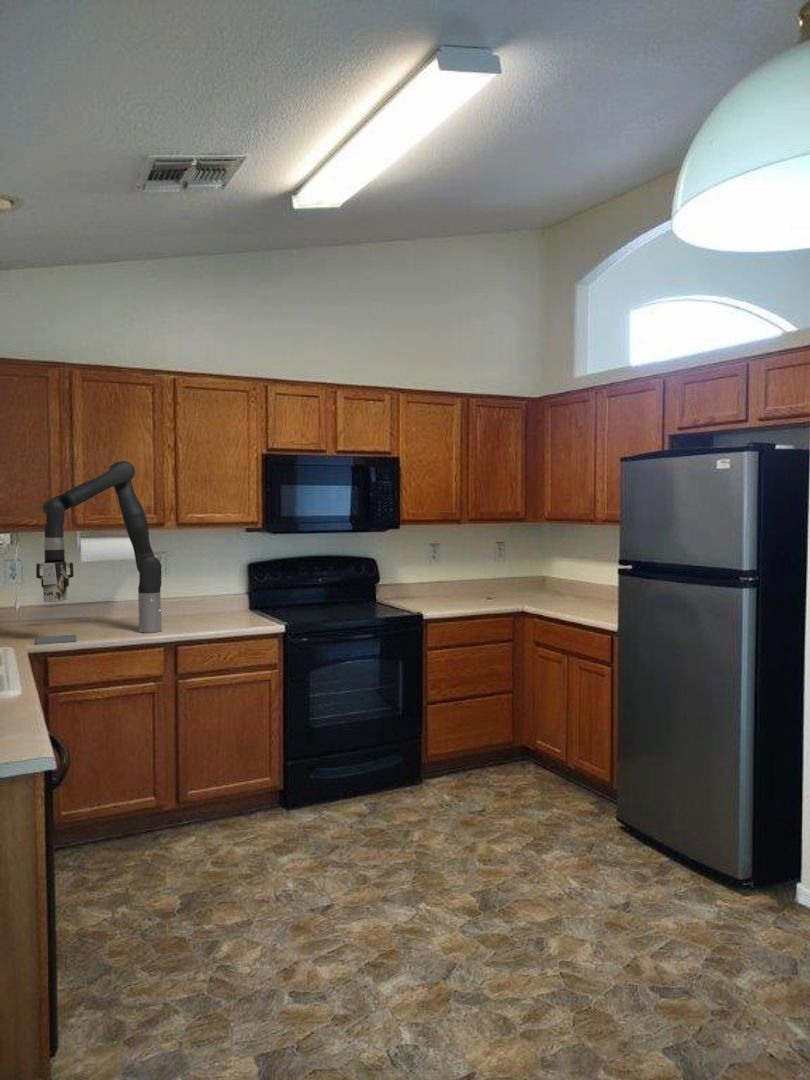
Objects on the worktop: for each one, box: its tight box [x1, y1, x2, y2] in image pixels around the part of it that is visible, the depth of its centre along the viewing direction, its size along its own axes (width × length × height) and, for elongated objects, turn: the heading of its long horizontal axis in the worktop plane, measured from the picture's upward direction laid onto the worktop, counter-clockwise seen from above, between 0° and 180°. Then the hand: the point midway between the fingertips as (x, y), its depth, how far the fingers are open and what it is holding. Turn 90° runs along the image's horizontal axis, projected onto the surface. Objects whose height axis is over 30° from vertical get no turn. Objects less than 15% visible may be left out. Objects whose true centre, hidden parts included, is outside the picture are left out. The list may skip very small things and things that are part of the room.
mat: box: [35, 634, 77, 645], centre depth 322 cm, size 15×14×1 cm
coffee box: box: [42, 560, 68, 603], centre depth 320 cm, size 9×6×16 cm
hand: (55, 588), depth 320 cm, fingers closed on coffee box, 7 cm apart
